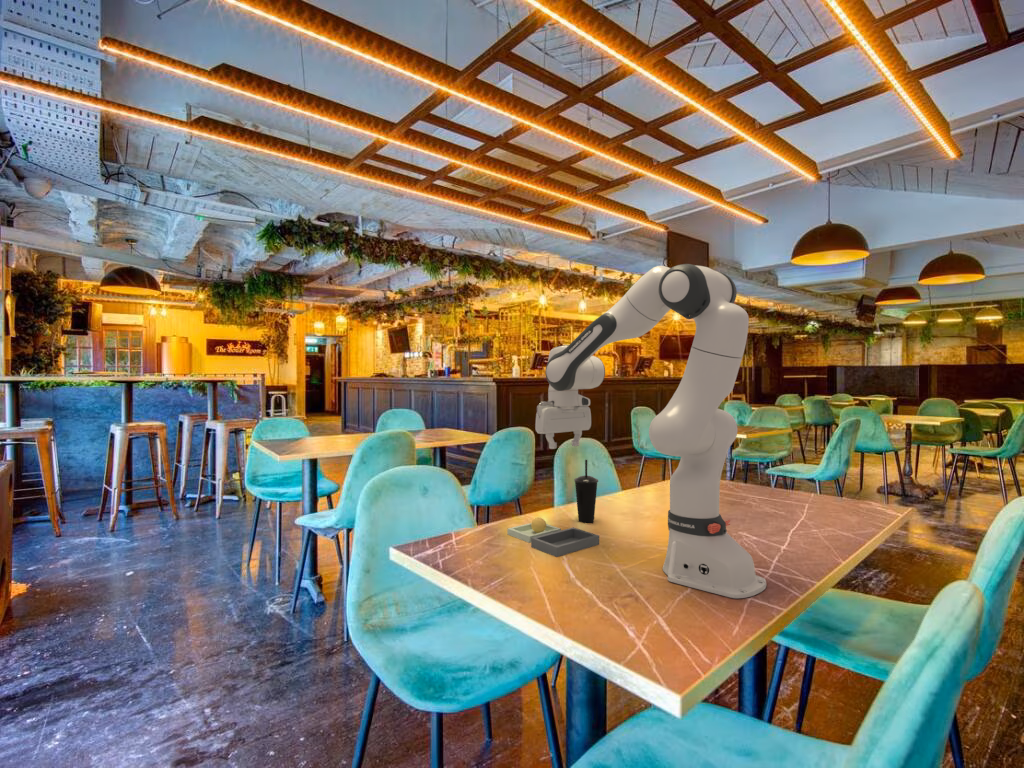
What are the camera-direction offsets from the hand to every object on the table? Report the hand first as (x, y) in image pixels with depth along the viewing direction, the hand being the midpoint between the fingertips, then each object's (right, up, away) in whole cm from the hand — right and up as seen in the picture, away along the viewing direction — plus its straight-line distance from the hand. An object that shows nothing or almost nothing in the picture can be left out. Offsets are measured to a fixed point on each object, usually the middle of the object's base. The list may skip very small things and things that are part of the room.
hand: (564, 447), depth 152 cm
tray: (-9, -26, -2) cm, 27 cm away
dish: (-1, -26, -12) cm, 29 cm away
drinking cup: (+8, -26, +13) cm, 30 cm away
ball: (-9, -24, -2) cm, 26 cm away
